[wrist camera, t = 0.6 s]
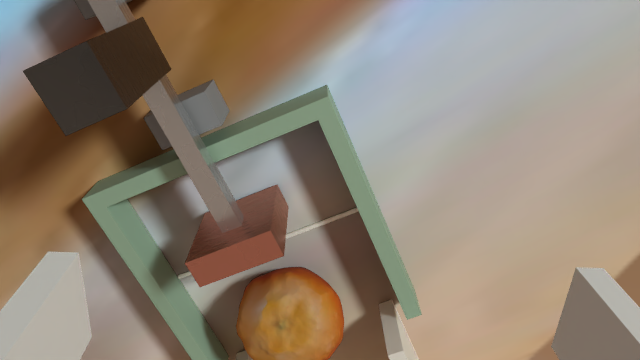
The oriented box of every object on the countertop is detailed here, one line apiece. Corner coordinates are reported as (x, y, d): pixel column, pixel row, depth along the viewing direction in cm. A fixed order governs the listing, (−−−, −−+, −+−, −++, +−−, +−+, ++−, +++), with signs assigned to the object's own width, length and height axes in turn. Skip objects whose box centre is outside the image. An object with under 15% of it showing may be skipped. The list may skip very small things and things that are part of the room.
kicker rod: (62, -30, 32) (-74, -16, 21) (147, -73, 31) (52, -82, 20) (217, 234, 40) (179, 348, 29) (288, 206, 39) (278, 313, 28)
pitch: (-8, 22, 34) (-38, 29, 31) (246, -104, 31) (240, -109, 28) (216, 360, 46) (210, 388, 43) (414, 291, 43) (422, 316, 40)
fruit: (273, 368, 45) (244, 398, 37) (247, 278, 46) (214, 288, 38) (363, 342, 44) (354, 368, 36) (335, 251, 45) (319, 255, 37)
